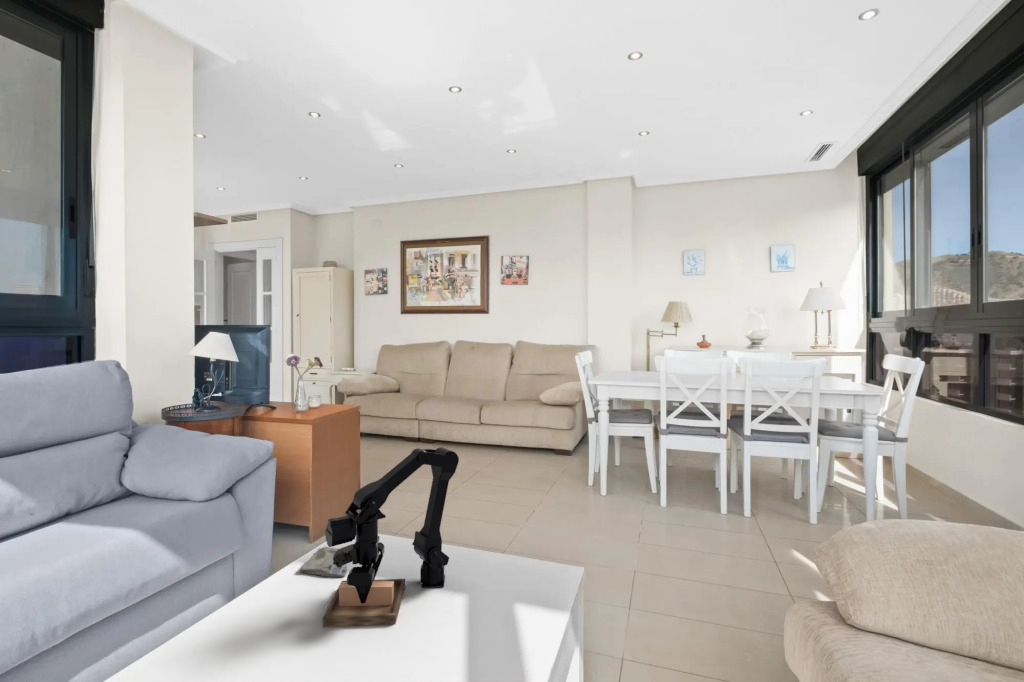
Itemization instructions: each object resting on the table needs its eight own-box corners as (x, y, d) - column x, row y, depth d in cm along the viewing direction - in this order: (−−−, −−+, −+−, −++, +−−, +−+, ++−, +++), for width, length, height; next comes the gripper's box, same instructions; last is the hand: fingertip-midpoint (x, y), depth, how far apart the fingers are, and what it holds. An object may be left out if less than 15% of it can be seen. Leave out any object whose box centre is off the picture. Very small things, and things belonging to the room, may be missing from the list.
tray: (405, 586, 142) (405, 578, 142) (395, 624, 124) (395, 614, 124) (341, 588, 140) (341, 580, 140) (322, 627, 122) (322, 617, 122)
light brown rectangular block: (394, 599, 134) (394, 581, 134) (391, 605, 131) (391, 586, 131) (342, 599, 133) (342, 581, 133) (339, 606, 130) (339, 587, 130)
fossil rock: (318, 552, 164) (318, 545, 164) (362, 553, 164) (362, 546, 164) (295, 578, 147) (295, 570, 147) (344, 579, 147) (344, 571, 147)
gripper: (345, 523, 140) (345, 577, 140) (325, 553, 121) (326, 614, 122) (384, 522, 141) (384, 575, 141) (371, 552, 122) (371, 613, 123)
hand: (366, 593), depth 132 cm, fingers open, 9 cm apart
